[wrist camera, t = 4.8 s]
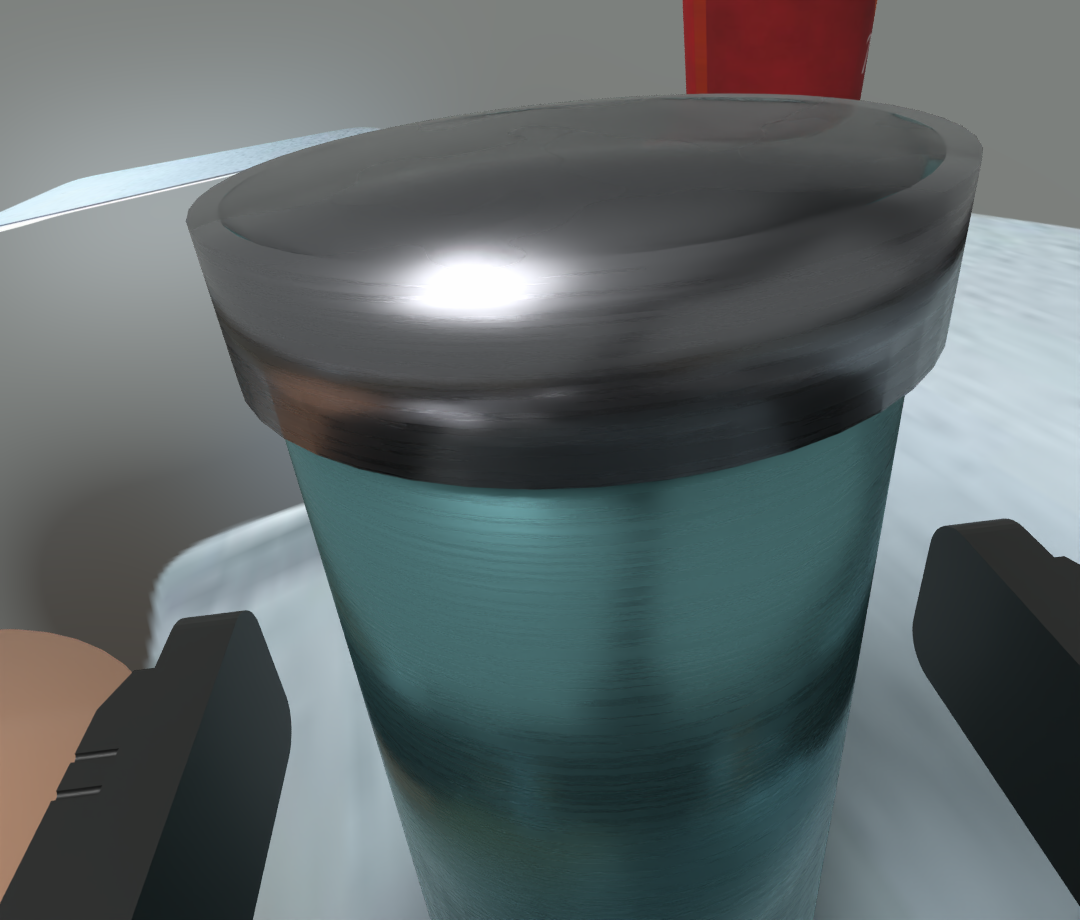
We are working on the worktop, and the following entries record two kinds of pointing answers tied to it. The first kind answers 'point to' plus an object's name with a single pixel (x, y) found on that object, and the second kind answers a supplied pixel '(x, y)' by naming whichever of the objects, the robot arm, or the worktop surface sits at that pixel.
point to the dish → (43, 726)
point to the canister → (601, 466)
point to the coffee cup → (777, 46)
